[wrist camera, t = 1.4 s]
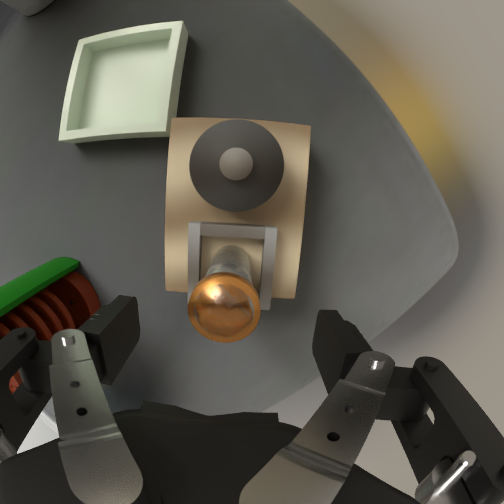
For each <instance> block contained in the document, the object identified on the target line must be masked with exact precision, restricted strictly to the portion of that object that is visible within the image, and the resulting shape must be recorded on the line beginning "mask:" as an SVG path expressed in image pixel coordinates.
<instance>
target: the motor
mask: <svg viewBox="0 0 504 504" xmlns="http://www.w3.org/2000/svg"><path fill="white" fill-rule="evenodd" d="M79 262H80V261H78V260H75V259H72V258H68V257H59V258H56V259H53V260H51V261H49V262H47V263H45V264H43V265H41V266H39V267H37V268H35V269H33V270H31V271H29V272H27V273H25V274H23V275H22V276H20V277H18V278H16V279H14V280H12V281H10V282H8V283H7V284H5V285H3V286H1V287H0V340H1V339H2V338H3V337H4V336H6V335H7V334H8V333H9V332H10V331H12V330H14V329H16V328H20V327H29V328H32V329H33V330H34V331H35V333H36V337H37V340H43V341H51V339H52V337H53V335H54V334H56V333H57V332H59V331H62V330H66V329H76V330H77V329H78V328H79V327H80V326H81V325H83V324H84V323H85V322H86V321H87V320H88V319H90V317H91V316H92V315H93V314H94V313H95V312H96V311H97V310H98V309H99V308H101V307H100V302H99V299H98V296H97V294H96V292H95V290H94V288H93V287H92V285H91V284H90V283H89V281H88V280H87V279H86V278H85V277H84V276H82V275H81V274H80V273H78V272H76V271H74V269H76V268H78V267H79ZM70 300H71V301H73V305H71V304H70ZM21 383H22V379H21V377H20V374H19V372H18V371H17V372H16V373H15V374H14V375H13V376H12V378H11V379H10V383H9V388H10V391H11V393H12V394H13V392H14V391H15V390H16V389H17V388H18V386H19V385H20V384H21Z"/></svg>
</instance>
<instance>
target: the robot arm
mask: <svg viewBox="0 0 504 504" xmlns="http://www.w3.org/2000/svg"><path fill="white" fill-rule="evenodd" d="M0 1H1V2H3V3H5V4H7V5H8V6H10V7H12V8H13V9H15V10H17V11H18V12H20V13H22V14H23V15H25V16H31V15H34V14H36V13H38V12H39V11H41V10H42V9H44V8H45V7H47V6H48V5H49V4H50V3H52V2H53V1H54V0H0ZM139 337H140V324H139V314H138V303H137V299H136V297H131V296H122V295H119V296H118V297H117V298H116V299H115V300H114V301H113V302H112V303H111V304H108V305H106V306H103V307H101V308H99V309H98V310H97V311H96V312H95V313H94V314H93V315H92V316H91V317H90V319H88V320H87V321H86V322H85V323H84V324H83V325H81V326H80V327H79V328H78V329H77V330H76V329H66V330H62V331H59V332H57V333H56V334H54V335H53V337H52V339H51V341H43V340H37V337H36V333H35V331H34V330H33V329H32V328H29V327H20V328H16V329H14V330H12V331H10V332H9V333H8V334H7V335H6V336H4V337H3V338H2V339H1V340H0V504H501V503H502V502H503V501H504V437H503V436H502V435H501V433H500V432H499V431H498V429H497V428H496V427H495V425H494V424H493V423H492V421H491V420H490V419H489V417H488V416H487V415H486V414H485V412H484V411H483V410H482V409H481V407H480V406H479V405H478V403H477V402H476V401H475V400H474V398H473V397H472V396H471V395H470V394H469V392H468V391H467V390H466V389H465V387H464V386H463V385H462V384H461V383H460V381H459V380H458V379H457V378H456V377H455V376H454V374H453V373H452V372H451V371H450V370H449V369H448V367H447V366H446V365H445V364H444V363H443V362H442V361H440V360H438V359H436V358H433V357H426V356H425V357H420V358H418V359H417V360H416V361H415V363H414V366H413V368H406V367H397V366H395V362H394V360H393V359H392V358H391V357H390V356H388V355H387V354H384V353H381V352H378V351H373V350H372V349H371V347H370V345H369V344H368V343H367V341H366V340H365V339H364V338H363V336H362V334H361V333H360V332H359V330H358V329H357V328H356V326H355V325H353V324H352V323H350V322H349V321H344V320H343V319H342V317H341V316H340V314H339V313H338V311H337V310H319V312H318V316H317V321H316V327H315V332H314V337H313V343H312V350H313V355H314V358H315V361H316V363H317V366H318V368H319V371H320V374H321V376H322V379H323V382H324V384H325V387H326V390H327V393H328V396H327V397H326V399H325V400H324V402H323V403H322V404H321V406H320V407H319V408H318V410H317V411H316V412H315V413H314V415H313V416H312V417H311V419H310V420H309V421H308V422H307V424H306V425H305V426H304V427H303V429H301V428H298V427H296V426H293V425H290V424H286V423H281V422H279V420H278V413H254V412H241V413H234V414H225V415H215V416H206V415H202V414H199V413H196V412H192V411H189V410H186V409H183V408H180V407H177V406H173V405H166V404H160V403H154V402H148V401H143V404H142V406H141V409H134V410H125V411H120V412H116V413H113V414H112V413H111V410H110V408H109V405H108V403H107V400H106V398H105V395H104V392H103V390H102V387H101V384H100V383H103V384H107V385H112V383H113V381H114V380H115V378H116V376H117V375H118V373H119V371H120V370H121V368H122V366H123V365H124V363H125V362H126V360H127V358H128V357H129V355H130V354H131V352H132V350H133V349H134V347H135V346H136V344H137V342H138V340H139ZM17 371H18V372H19V374H20V377H21V379H22V383H21V384H20V385H19V386H18V388H17V389H16V390H15V391H14V392H13V394H12V393H11V391H10V388H9V383H10V379H11V378H12V376H13V375H14V374H15V373H16V372H17ZM51 397H53V404H54V411H55V417H56V422H57V427H58V432H59V438H57V439H55V440H52V441H50V442H48V443H45V444H43V445H40V446H38V447H35V448H32V449H30V450H27V451H25V452H22V453H19V454H17V451H18V449H19V447H20V445H21V444H22V442H23V440H24V439H25V437H26V435H27V434H28V432H29V430H30V429H31V427H32V426H33V424H34V423H35V421H36V419H37V418H38V416H39V415H40V413H41V412H42V410H43V409H44V407H45V406H46V404H47V403H48V401H49V400H50V398H51ZM429 407H430V408H431V410H432V411H433V413H434V417H435V420H434V425H433V423H432V422H431V420H430V418H429V417H428V415H427V411H428V409H429ZM375 419H379V420H391V422H392V424H393V426H394V429H395V431H396V433H397V435H398V437H399V439H400V442H401V444H402V446H403V449H404V450H405V453H406V455H407V457H408V460H409V462H410V464H411V467H412V469H413V471H414V474H415V476H416V479H417V481H418V483H419V485H418V486H417V488H416V491H415V499H414V498H412V497H411V496H409V495H407V494H405V493H403V492H402V491H400V490H398V489H396V488H394V487H392V486H391V485H389V484H387V483H385V482H384V481H382V480H380V479H379V478H377V477H375V476H374V475H372V474H370V473H368V472H367V471H365V470H364V469H362V468H361V467H359V466H357V465H356V464H354V462H355V461H356V458H357V456H358V455H359V453H360V451H361V449H362V447H363V445H364V443H365V441H366V439H367V436H368V434H369V432H370V430H371V428H372V425H373V423H374V421H375Z"/></svg>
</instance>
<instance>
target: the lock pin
mask: <svg viewBox="0 0 504 504" xmlns="http://www.w3.org/2000/svg"><path fill="white" fill-rule="evenodd" d="M260 312H261V309H260V302H259V296H258V293H257V291H256V289H255V288H254V286H253V285H252V278H251V265H250V258H249V256H248V254H247V253H246V251H245V250H243V249H242V248H240V247H238V246H235V245H227V246H224V247H222V248H220V249H219V250H218V251H217V252H216V253H215V254H214V256H213V259H212V261H211V264H210V266H209V269H208V271H207V274H206V276H205V277H204V278H203V279H202V280H200V281H199V282H198V283H197V285H196V286H195V288H194V290H193V292H192V294H191V296H190V299H189V302H188V315H189V318H190V321H191V323H192V325H193V326H194V328H195V329H196V330H197V331H198V332H199V333H200V334H201V335H203V336H204V337H206V338H208V339H210V340H213V341H216V342H223V343H228V342H235V341H238V340H241V339H243V338H245V337H246V336H248V335H249V334H250V333H251V332H252V331H253V330H254V329H255V328H256V326H257V324H258V322H259V319H260Z"/></svg>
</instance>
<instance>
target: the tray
mask: <svg viewBox="0 0 504 504" xmlns="http://www.w3.org/2000/svg"><path fill="white" fill-rule="evenodd" d="M187 40H188V32H187V30H186V27H185V25H184V22H183V21H174V22H164V23H156V24H148V25H142V26H136V27H130V28H125V29H120V30H115V31H111V32H106V33H102V34H98V35H94V36H90V37H87V38H83V39H80V40H79V42H78V45H77V49H76V52H75V56H74V59H73V63H72V67H71V71H70V75H69V80H68V84H67V89H66V94H65V99H64V105H63V111H62V117H61V125H60V133H59V141H62V142H68V143H74V144H75V143H83V142H92V141H102V140H114V139H128V138H147V137H170V129H171V119H172V118H176V116H177V107H178V99H179V91H180V84H181V77H182V70H183V64H184V57H185V52H186V46H187Z"/></svg>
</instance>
